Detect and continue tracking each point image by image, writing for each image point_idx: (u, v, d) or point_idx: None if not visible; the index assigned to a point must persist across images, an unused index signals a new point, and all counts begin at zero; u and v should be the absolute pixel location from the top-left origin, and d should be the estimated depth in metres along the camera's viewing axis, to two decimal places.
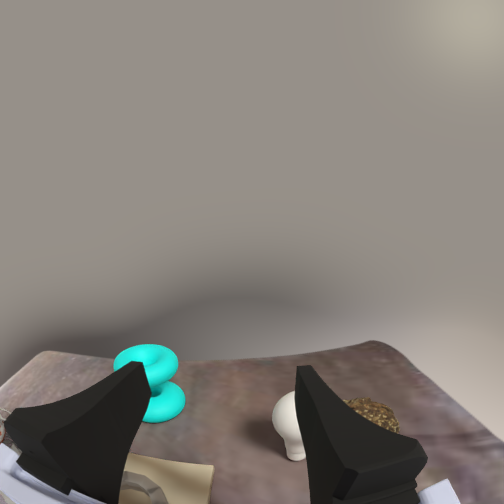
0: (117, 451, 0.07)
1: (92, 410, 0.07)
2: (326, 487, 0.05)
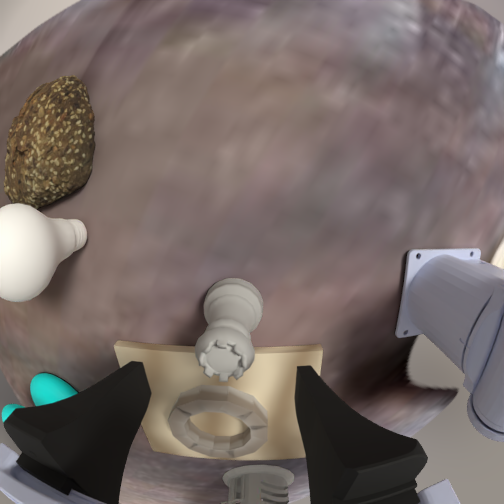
0: (117, 451, 0.07)
1: (92, 410, 0.07)
2: (326, 487, 0.05)
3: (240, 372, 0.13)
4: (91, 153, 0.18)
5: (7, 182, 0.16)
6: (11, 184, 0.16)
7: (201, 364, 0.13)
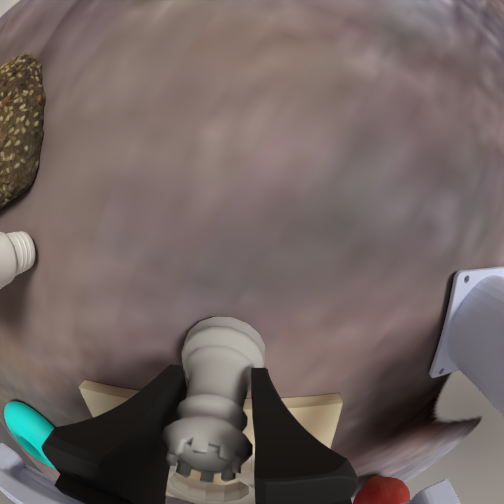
0: (163, 461, 0.07)
1: (143, 422, 0.07)
2: None
3: (230, 473, 0.07)
4: (37, 145, 0.11)
5: None
6: None
7: (171, 464, 0.07)
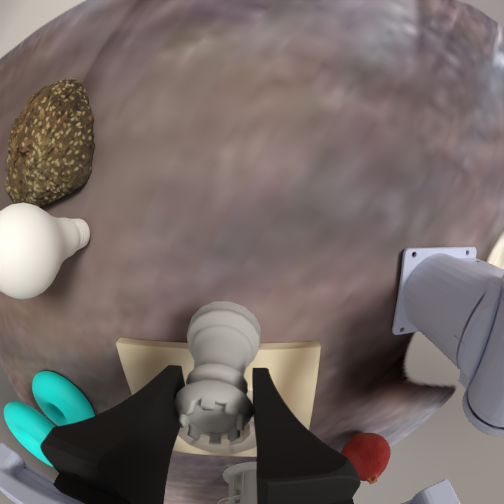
0: (161, 461, 0.07)
1: (141, 421, 0.07)
2: None
3: (235, 432, 0.09)
4: (91, 154, 0.18)
5: (8, 182, 0.17)
6: (13, 185, 0.16)
7: (184, 426, 0.09)
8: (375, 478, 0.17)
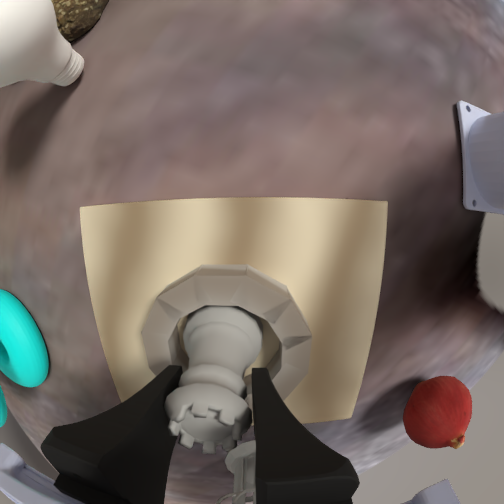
0: (162, 461, 0.07)
1: (142, 421, 0.07)
2: None
3: (232, 442, 0.08)
4: (104, 3, 0.11)
5: None
6: None
7: (174, 434, 0.07)
8: (463, 437, 0.10)
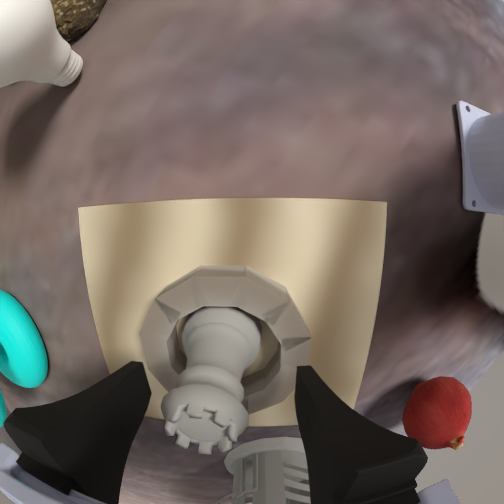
0: (118, 451, 0.07)
1: (92, 410, 0.07)
2: (326, 487, 0.05)
3: (227, 443, 0.08)
4: (101, 3, 0.11)
5: None
6: None
7: (169, 434, 0.07)
8: (463, 438, 0.10)
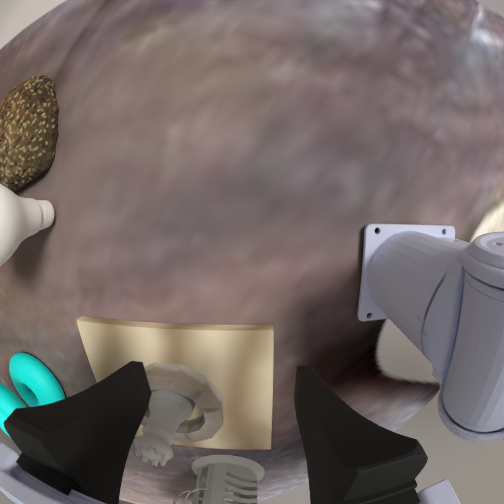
0: (118, 451, 0.07)
1: (92, 410, 0.07)
2: (326, 487, 0.05)
3: (163, 462, 0.14)
4: (53, 141, 0.17)
5: None
6: None
7: (137, 456, 0.14)
8: None
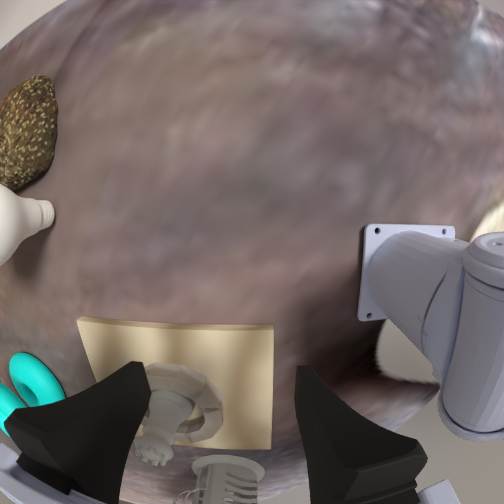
0: (118, 451, 0.07)
1: (92, 410, 0.07)
2: (326, 487, 0.05)
3: (163, 462, 0.14)
4: (53, 141, 0.17)
5: None
6: None
7: (137, 456, 0.14)
8: None
